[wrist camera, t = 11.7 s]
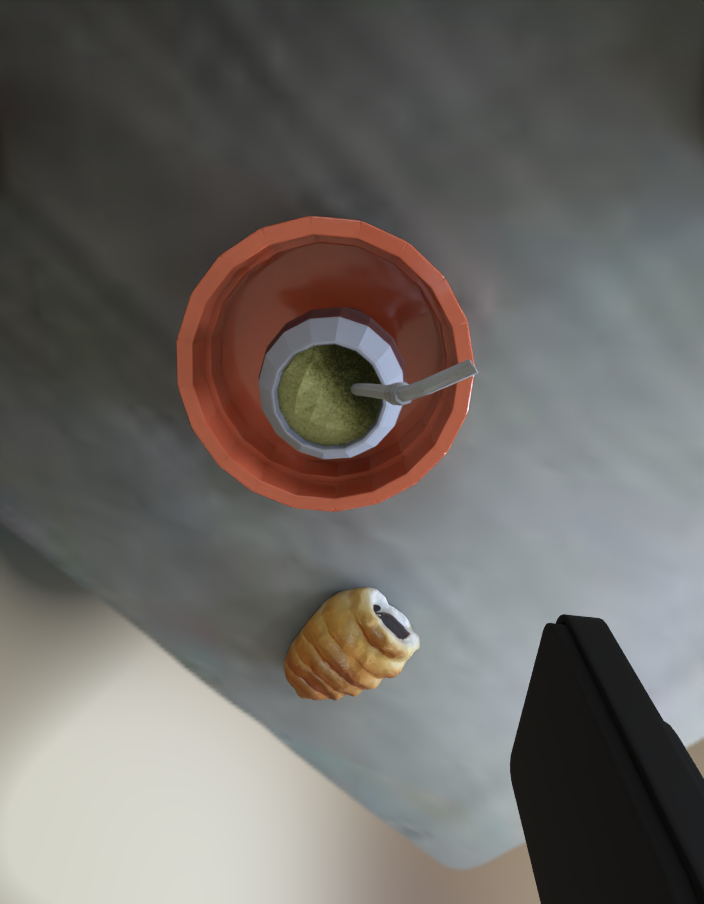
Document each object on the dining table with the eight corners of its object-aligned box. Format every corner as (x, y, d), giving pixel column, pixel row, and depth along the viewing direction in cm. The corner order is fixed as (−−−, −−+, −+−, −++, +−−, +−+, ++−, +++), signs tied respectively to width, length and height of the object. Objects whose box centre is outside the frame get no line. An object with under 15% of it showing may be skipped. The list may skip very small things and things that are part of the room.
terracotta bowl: (205, 209, 30) (173, 202, 25) (478, 235, 30) (498, 233, 25) (205, 463, 35) (179, 497, 30) (438, 485, 35) (449, 523, 30)
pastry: (328, 700, 41) (324, 743, 37) (262, 643, 39) (251, 682, 36) (426, 630, 39) (431, 669, 35) (360, 566, 37) (358, 600, 33)
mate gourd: (264, 400, 33) (181, 517, 19) (301, 264, 30) (238, 282, 16) (385, 439, 33) (393, 581, 19) (432, 309, 30) (483, 364, 16)
